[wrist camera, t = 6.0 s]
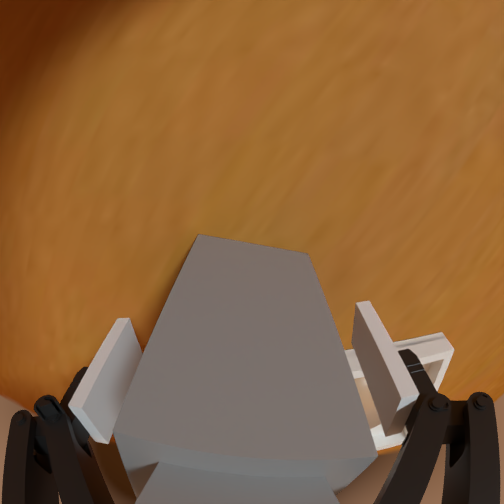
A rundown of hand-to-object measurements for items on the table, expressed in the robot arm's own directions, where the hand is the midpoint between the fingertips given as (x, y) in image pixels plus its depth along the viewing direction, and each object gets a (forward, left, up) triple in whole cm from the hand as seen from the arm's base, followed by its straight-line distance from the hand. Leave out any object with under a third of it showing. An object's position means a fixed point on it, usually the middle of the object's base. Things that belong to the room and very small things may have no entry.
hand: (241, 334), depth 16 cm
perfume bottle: (0, 0, -5) cm, 5 cm away
